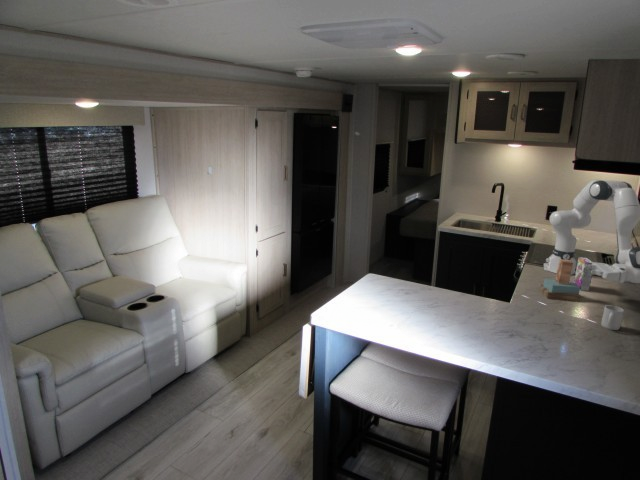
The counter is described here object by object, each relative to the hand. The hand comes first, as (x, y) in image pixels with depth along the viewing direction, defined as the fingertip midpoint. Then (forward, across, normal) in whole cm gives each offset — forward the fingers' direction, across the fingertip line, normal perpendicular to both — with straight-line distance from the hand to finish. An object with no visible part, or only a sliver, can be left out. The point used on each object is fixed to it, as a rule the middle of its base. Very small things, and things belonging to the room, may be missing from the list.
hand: (588, 269), depth 237 cm
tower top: (+11, 0, +13) cm, 17 cm away
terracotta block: (+11, 0, +9) cm, 14 cm away
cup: (0, +38, +16) cm, 41 cm away
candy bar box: (-5, -19, +16) cm, 26 cm away
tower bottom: (+11, 0, +17) cm, 20 cm away
